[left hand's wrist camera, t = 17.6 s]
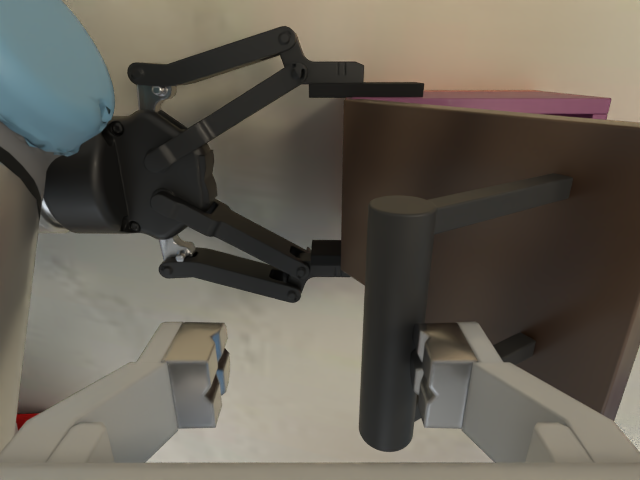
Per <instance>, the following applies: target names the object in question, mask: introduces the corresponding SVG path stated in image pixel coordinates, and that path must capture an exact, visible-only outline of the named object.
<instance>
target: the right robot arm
mask: <svg viewBox="0 0 640 480" xmlns="http://www.w3.org/2000/svg"><path fill="white" fill-rule="evenodd" d="M279 55H280V56H281V59H282V62H283V64H284V67H285V68H283V69H282V70H280V71H279V72H277V73H275V74H274V75H272V76H271V77H269V78H268V79H266V80H264V81H263V82H261V83H260V84H258V85H257V86H255V87H253V88H252V89H250V90H249V91H247V92H246V93H244V94H242V95H241V96H239V97H238V98H236V99H235V100H233V101H231V102H230V103H228V104H227V105H225V106H224V107H222V108H220V109H219V110H217V111H216V112H214V113H213V114H211V115H209V116H208V117H206V118H205V119H203V120H201V121H200V122H198V123H196V124H194V125H193V126H191V127H190V128H187V127H185V126H184V125H182V124H181V123H179V122H178V121H176V120H175V119H174V118H172V117H171V116H169V115H168V114H166V113H165V112H163V111H162V110H161V104H162V102H163V101H165V100H167V99H171V98H173V97H174V96H175V94H176V90H177V89H176V86H179V85H187V84H192V83H195V82H199V81H202V80H205V79H208V78H211V77H214V76H217V75H220V74H223V73H226V72H230V71H233V70H236V69H239V68H242V67H245V66H248V65H251V64H254V63H257V62H261V61H264V60H267V59H270V58H273V57H276V56H279ZM127 73H128V77H129V79H130V80H131V81H132V82H133V83H134V84H137V93H138V104H139V110H138V111H136V112H135V113H133V114H132V115H130V116H113V113H114V107H115V95H114V90H113V85H112V81H111V78H110V75H109V72H108V70H107V67H106V65H105V63H104V60H103V58H102V56H101V54H100V53H99V51H98V49H97V47H96V46H95V44H94V42H93V41H92V39H91V37H90V36H89V34H88V33H87V31H86V30H85V28H84V27H83V26H82V24H81V23H80V21H79V20H78V19H77V17H76V16H75V15H74V14H73V13H72V11H71V10H70V9H69V8H68V7H67V6H66V5H65V4H64V3H63V1H62V0H0V452H1V451H2V450H3V448H4V447H5V446H6V445H7V444H8V442H9V441H10V440H11V439H12V438H13V437H14V433H15V425H16V416H17V408H18V400H19V391H20V383H21V374H22V366H23V357H24V349H25V340H26V332H27V323H28V315H29V306H30V298H31V289H32V281H33V273H34V264H35V256H36V247H37V239H38V233H67V232H70V231H71V232H74V233H110V234H126V233H144V234H147V235H150V236H152V237H154V238H156V239H159V242H160V246H161V251H162V255H163V259H164V261H163V262H162V264H161V265H160V266H159V272H160V274H161V275H162V276H163V277H165V278H187V277H195V278H198V279H202V280H206V281H210V282H214V283H217V284H221V285H225V286H229V287H233V288H237V289H240V290H244V291H248V292H252V293H256V294H260V295H263V296H267V297H271V298H275V299H279V300H283V301H286V302H291V303H294V302H297V301H298V300H299V299H300V297H301V293H302V290H303V288H304V285H305V283H306V281H307V280H308V279H310V278H312V277H351V276H350V275H348V274H346V273H345V272H343V271H342V270H341V240H312V249H310V248H309V247H307V250H305V249H303V248H301V247H299V246H297V245H296V244H294V243H292V242H290V241H288V240H286V239H284V238H282V237H280V236H279V235H277V234H275V233H273V232H271V231H269V230H267V229H265V228H264V227H262V226H260V225H258V224H256V223H254V222H252V221H250V220H248V219H247V218H245V217H243V216H241V215H239V214H237V213H235V212H233V211H232V210H230V208H229V207H228V206H227V205H226V204H224V203H222V202H220V201H218V200H216V199H215V197H216V196H217V186H216V182H215V179H214V177H213V174H212V171H213V165H214V155H213V150H210V148H209V146H208V144H207V142H209V141H211V140H212V139H214V138H215V137H217V136H219V135H220V134H222V133H223V132H225V131H227V130H228V129H230V128H231V127H233V126H235V125H236V124H238V123H239V122H241V121H243V120H244V119H246V118H248V117H249V116H251V115H252V114H254V113H256V112H257V111H259V110H260V109H262V108H264V107H265V106H267V105H268V104H270V103H272V102H273V101H275V100H277V99H278V98H280V97H281V96H283V95H285V94H286V93H288V92H289V91H291V90H293V89H294V88H296V87H297V86H299V85H301V84H309V98H352V97H423V91H424V83H417V82H363V79H364V65H362V64H360V63H357V62H312V61H309V60H308V59H306V57H305V56H304V54H303V52H302V49H301V46H300V43H299V40H298V37H297V35H296V33H295V32H294V31H293V30H292V29H291V28H289V27H286V26H282V27H278V28H275V29H272V30H269V31H266V32H263V33H260V34H257V35H254V36H251V37H248V38H245V39H242V40H239V41H236V42H233V43H230V44H227V45H224V46H221V47H218V48H215V49H212V50H209V51H206V52H203V53H200V54H197V55H194V56H191V57H188V58H185V59H182V60H179V61H176V62H173V63H170V64H158V63H132V64H131V65H130V66H129V68H128V72H127ZM186 227H190V228H192V229H194V230H196V231H198V232H200V233H202V234H204V235H206V236H209V237H213V236H214V237H217V238H219V239H221V240H223V241H225V242H227V243H229V244H231V245H233V246H235V247H237V248H238V249H240V250H242V251H244V252H246V253H248V254H250V255H252V256H254V257H256V258H258V259H260V260H262V261H264V262H266V263H268V264H269V265H268V264H264V263H260V262H256V261H253V260H249V259H245V258H241V257H238V256H234V255H230V254H227V253H223V252H219V251H215V250H211V249H207V248H195V246H194V244H193V243H192V242H186V241H183V240H181V239H180V238H179V236H178V233H180V232H181V231H182V230H184V229H185V228H186Z"/></svg>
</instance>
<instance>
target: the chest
mask: <svg viewBox="0 0 640 480" xmlns="http://www.w3.org/2000/svg"><path fill="white" fill-rule="evenodd" d="M347 99H370V100H381V101H393V102H405V103H416V104H428V105H440V106H451V107H463V108H474V109H486V110H498V111H509V112H521V113H532V114H544V115H556V116H567V117H579V118H591V119H602V120H606V119H607V114H608V111H609V107H610V103H611V98H604V97H594V96H584V95H574V94H563V93H553V92H543V91H536V90H461V91H423V97H352V98H346V100H347Z"/></svg>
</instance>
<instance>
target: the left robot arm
mask: <svg viewBox="0 0 640 480" xmlns="http://www.w3.org/2000/svg"><path fill="white" fill-rule="evenodd" d="M227 339H228V336H227V328H226V325H225V323H205V322H164V323H161V324H160V326H159V327H158V329H157V330H156V332H155V334H154V335H153V337H152V338H151V340H150V341H149V343H148V345H147V346H146V348H145V349H144V351H143V352H142V354H141V356H140V357H139V359H138V360H137V362H130V363H128V364H126V365H124V366H123V367H121V368H119V369H117V370H116V371H114V372H112V373H110V374H109V375H107V376H105V377H103V378H101V379H100V380H98V381H96V382H94V383H93V384H91V385H89V386H87V387H86V388H84V389H82V390H80V391H78V392H77V393H75V394H73V395H71V396H70V397H68V398H66V399H64V400H63V401H61V402H59V403H57V404H55V405H54V406H52V407H50V408H48V409H47V410H45V411H43V412H41V413H39V414H38V415H36V416H34V417H32V418H31V419H29V420H27V421H26V422H25V423H24V425H23V426H22V427H21V428H20V429H19V431H18V432H17V433H16V434H15V435H14V437H13V438H12V439H11V440H10V441H9V442H8V444H7V445H6V446H5V447H4V448H3V450H2V451H1V452H0V480H640V452H639V451H638V450H637V449H636V447H635V446H634V445H633V444H632V443H631V441H630V440H629V439H628V438H627V437H626V435H625V434H624V433H623V432H622V431H621V429H620V428H619V427H618V426H617V425H616V423H615V422H614V421H612V420H611V419H609V418H607V417H605V416H604V415H602V414H600V413H598V412H596V411H595V410H593V409H591V408H589V407H588V406H586V405H584V404H582V403H581V402H579V401H577V400H575V399H574V398H572V397H570V396H568V395H566V394H565V393H563V392H561V391H559V390H558V389H556V388H554V387H552V386H551V385H549V384H547V383H545V382H544V381H542V380H540V379H538V378H537V377H535V376H533V375H531V374H529V373H528V372H526V371H524V370H522V369H521V368H519V367H517V366H515V365H514V364H512V363H510V362H503V361H502V359H501V358H500V356H499V354H498V353H497V351H496V350H495V348H494V347H493V345H492V344H491V342H490V340H489V339H488V337H487V336H486V334H485V333H484V331H483V330H482V328H481V326H480V325H479V323H477V322H455V323H417V324H414V328H413V334H412V339H413V342H414V345H415V349H414V350H413V351H412V352H411V355H410V377H411V383H412V387H413V391H414V392H415V393H416V394H417V395H418V396H419V399H418V408H419V411H420V414H421V418H422V421H423V424H424V428H459V429H462V431H463V432H464V433H465V434H466V435H467V436H468V437H469V438H470V439H471V440H472V441H473V442H474V443H475V444H476V445H477V446H478V447H479V448H480V449H481V450H483V451H484V452H485V453H486V454H487V455H488V456H489V457H490V458H491V459H492V460H493V461H494V462H495V463H145V462H146V461H147V460H148V459H149V458H150V457H151V456H152V455H153V454H154V453H155V452H156V451H158V450H159V449H160V448H161V447H162V446H163V445H164V444H165V443H166V442H167V441H168V440H169V439H170V438H171V437H172V436H173V435H174V434H175V433H176V432H177V431H178V429H181V428H215V427H216V424H217V421H218V417H219V414H220V411H221V407H222V401H221V395H223V394H224V393H225V392H226V390H227V386H228V383H229V375H230V356H229V352H228V351H227V350H226V349H225V345H226V342H227Z"/></svg>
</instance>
